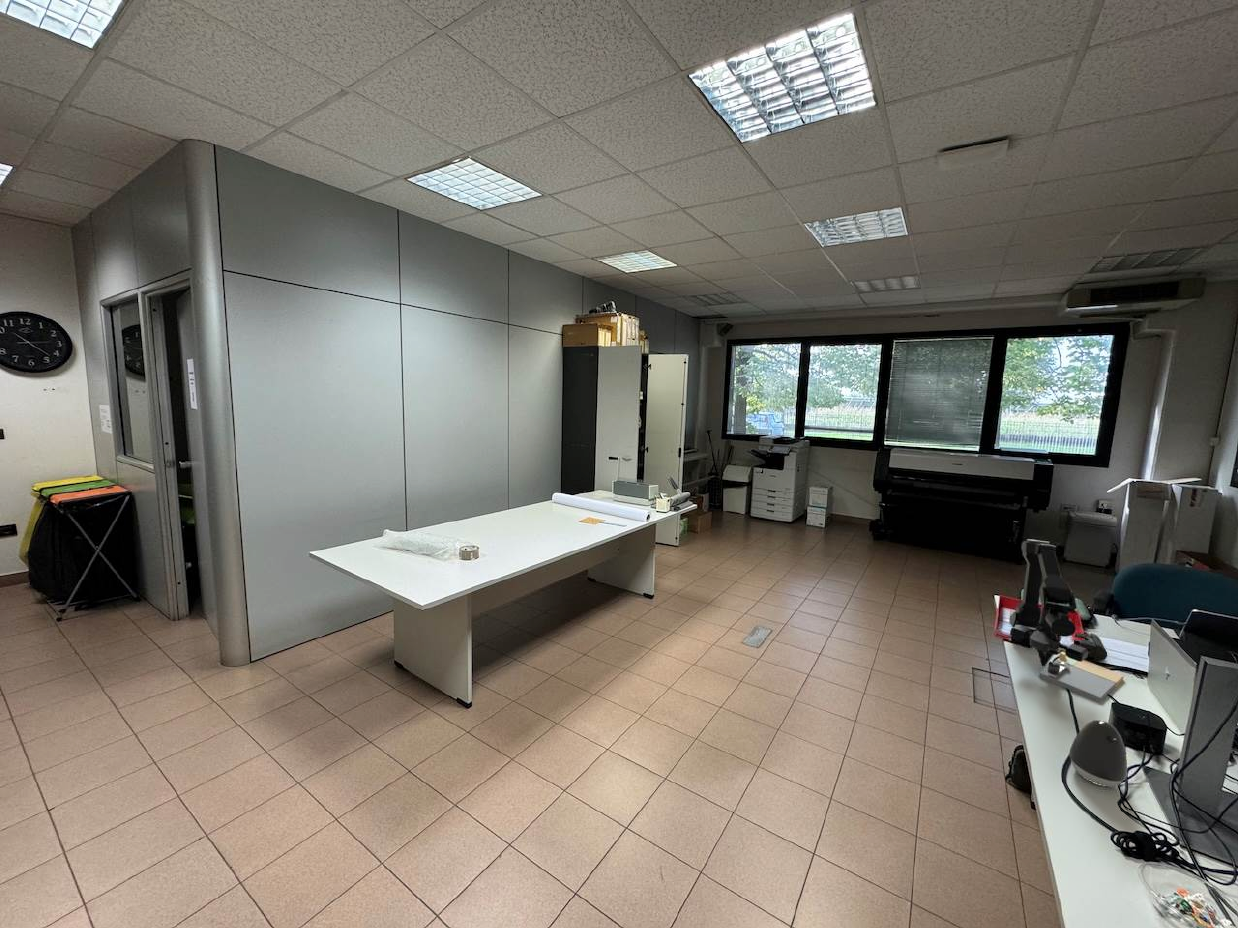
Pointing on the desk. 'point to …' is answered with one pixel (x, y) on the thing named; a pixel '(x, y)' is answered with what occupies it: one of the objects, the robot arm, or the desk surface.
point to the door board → (1085, 678)
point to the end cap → (1092, 647)
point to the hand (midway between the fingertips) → (1043, 665)
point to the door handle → (1057, 668)
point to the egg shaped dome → (1099, 754)
